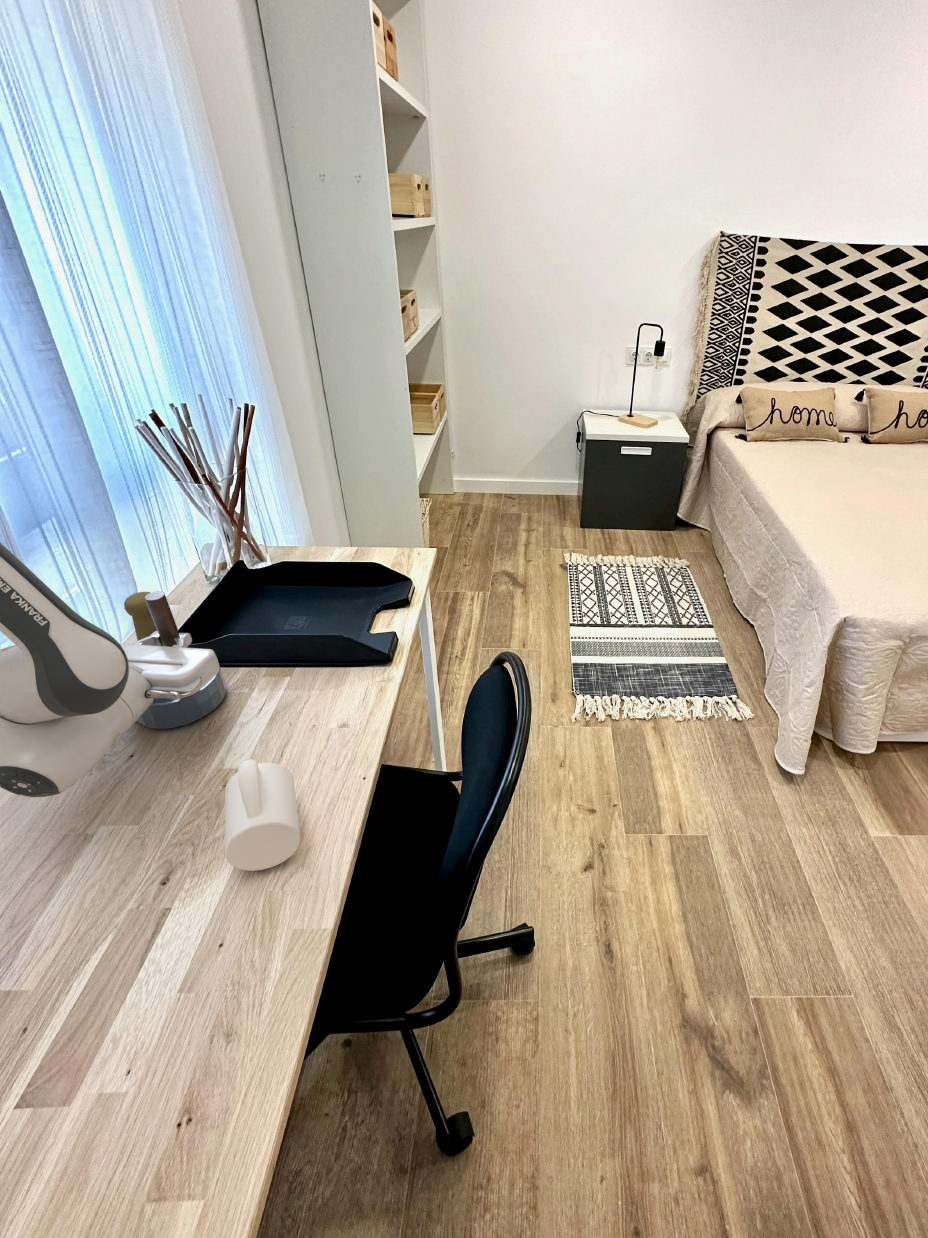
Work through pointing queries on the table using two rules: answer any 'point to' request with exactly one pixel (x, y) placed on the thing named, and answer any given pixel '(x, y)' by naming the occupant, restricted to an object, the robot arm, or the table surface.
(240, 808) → the mug
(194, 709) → the bowl
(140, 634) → the pepper mill
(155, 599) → the brown cylindrical rod
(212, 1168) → the table surface
